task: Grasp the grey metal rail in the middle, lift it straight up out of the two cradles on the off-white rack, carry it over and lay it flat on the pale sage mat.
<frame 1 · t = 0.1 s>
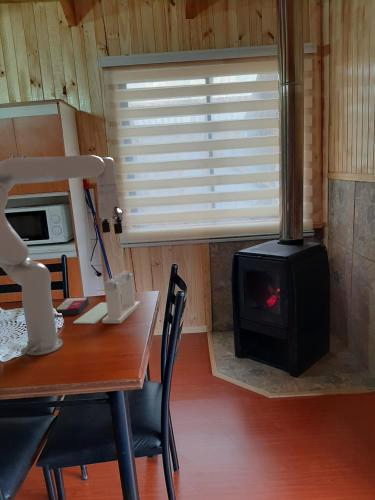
hand: (112, 232, 145), 37 cm above the table, tool pointing down, fingers open, 9 cm apart
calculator: (73, 311, 171), on the table
rack: (122, 313, 161), on the table
mat: (98, 312, 164), on the table
rail: (119, 283, 158), point 13 cm above the table, touching rack
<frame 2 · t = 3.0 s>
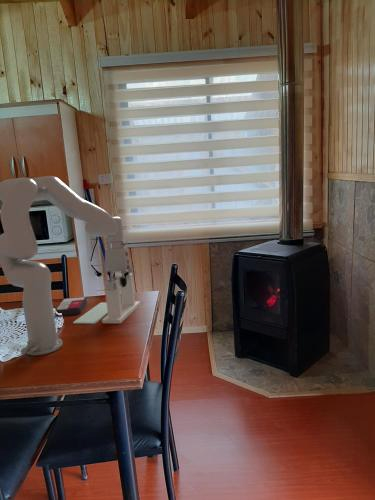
hand: (119, 286, 159), 13 cm above the table, tool pointing down, fingers closed on rail, 3 cm apart
rail: (119, 283, 158), point 14 cm above the table, touching gripper, rack
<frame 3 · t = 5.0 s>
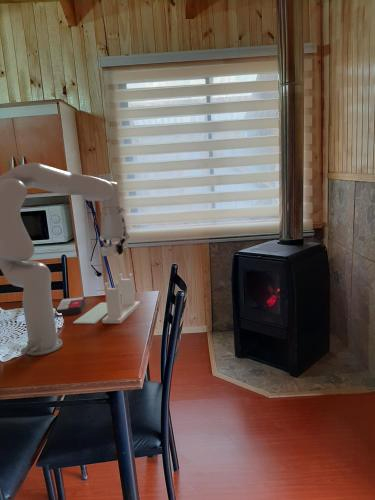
hand: (116, 253, 156), 27 cm above the table, tool pointing down, fingers closed on rail, 3 cm apart
rail: (115, 251, 156), point 28 cm above the table, touching gripper
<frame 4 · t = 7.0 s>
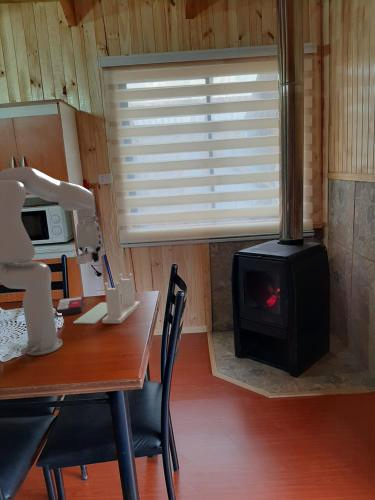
hand: (92, 261, 160), 24 cm above the table, tool pointing down, fingers closed on rail, 3 cm apart
rail: (91, 259, 159), point 25 cm above the table, touching gripper
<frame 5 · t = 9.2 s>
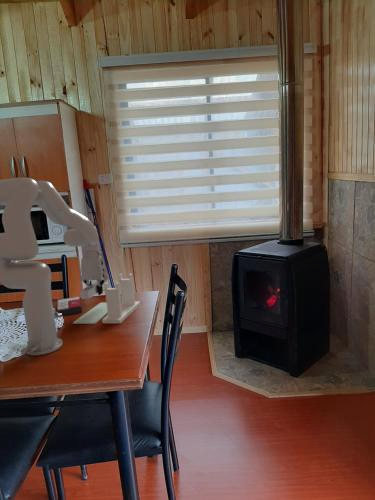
hand: (96, 293, 162), 9 cm above the table, tool pointing down, fingers closed on rail, 3 cm apart
rail: (95, 291, 162), point 10 cm above the table, touching gripper
when the fingers open (1 cm above the table, at t = 11.2 s): rail drops 2 cm, resting on mat.
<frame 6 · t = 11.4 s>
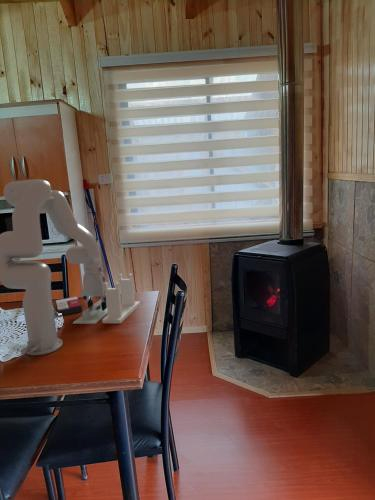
hand: (97, 309, 163), 2 cm above the table, tool pointing down, fingers open, 5 cm apart
rail: (98, 311, 163), point 1 cm above the table, touching mat
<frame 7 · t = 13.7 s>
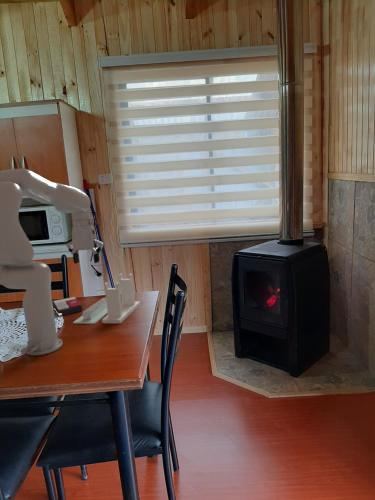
hand: (86, 262, 157), 24 cm above the table, tool pointing down, fingers open, 9 cm apart
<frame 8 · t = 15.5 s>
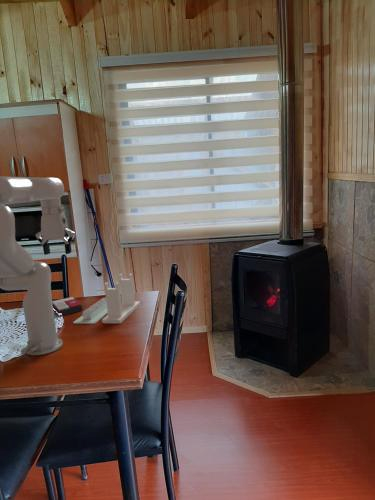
hand: (57, 253, 147), 30 cm above the table, tool pointing down, fingers open, 9 cm apart
at the end: rail inside the target area (0.0 cm from its centre), point 0.6 cm above the table; rail tilted 0°; the gripper is holding nothing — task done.
